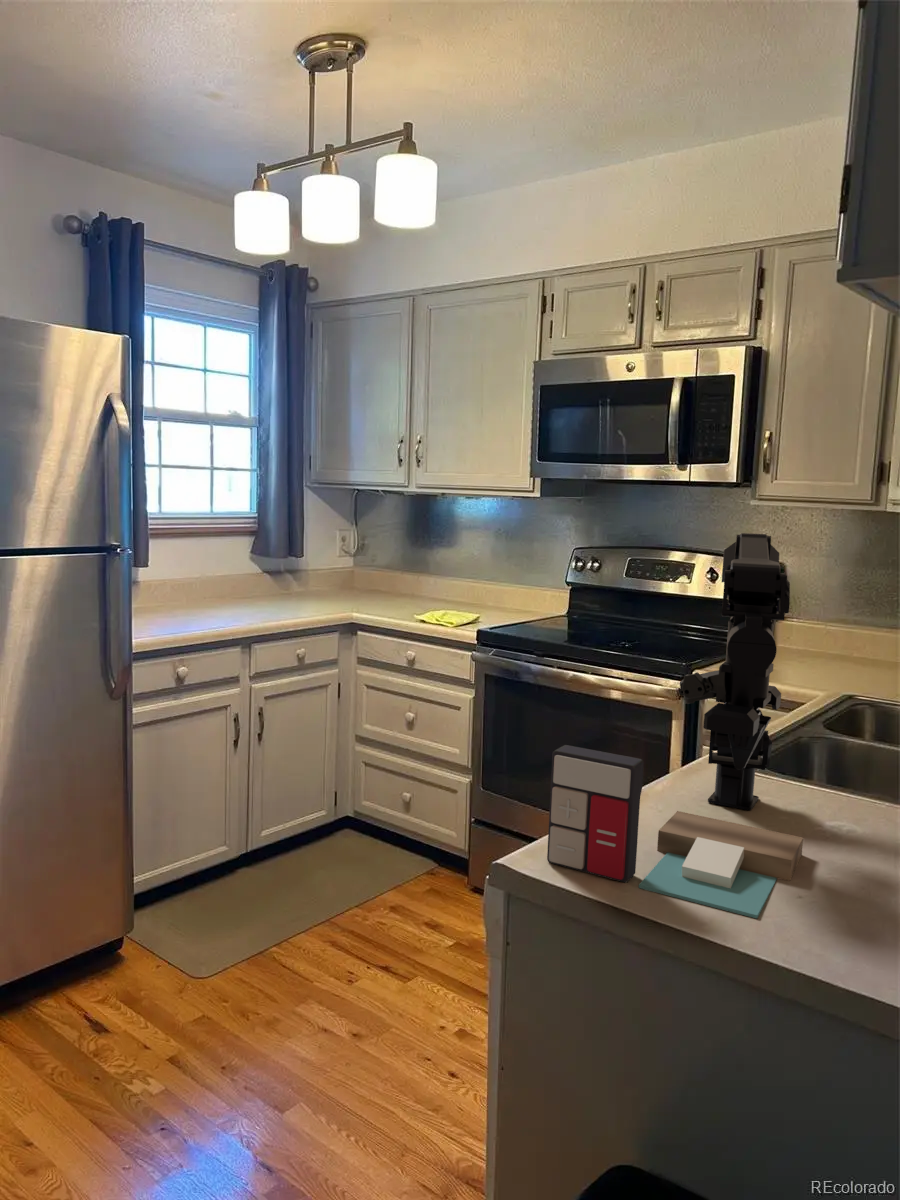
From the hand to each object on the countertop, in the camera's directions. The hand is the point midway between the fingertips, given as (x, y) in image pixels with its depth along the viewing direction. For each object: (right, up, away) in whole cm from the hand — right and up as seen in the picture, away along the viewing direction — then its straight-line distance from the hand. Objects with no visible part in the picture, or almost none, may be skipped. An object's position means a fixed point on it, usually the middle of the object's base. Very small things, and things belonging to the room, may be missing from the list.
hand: (739, 768), depth 121 cm
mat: (-7, -12, -11) cm, 18 cm away
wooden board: (-2, -11, -1) cm, 12 cm away
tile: (-6, -10, -8) cm, 15 cm away
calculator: (-22, -12, -7) cm, 26 cm away
